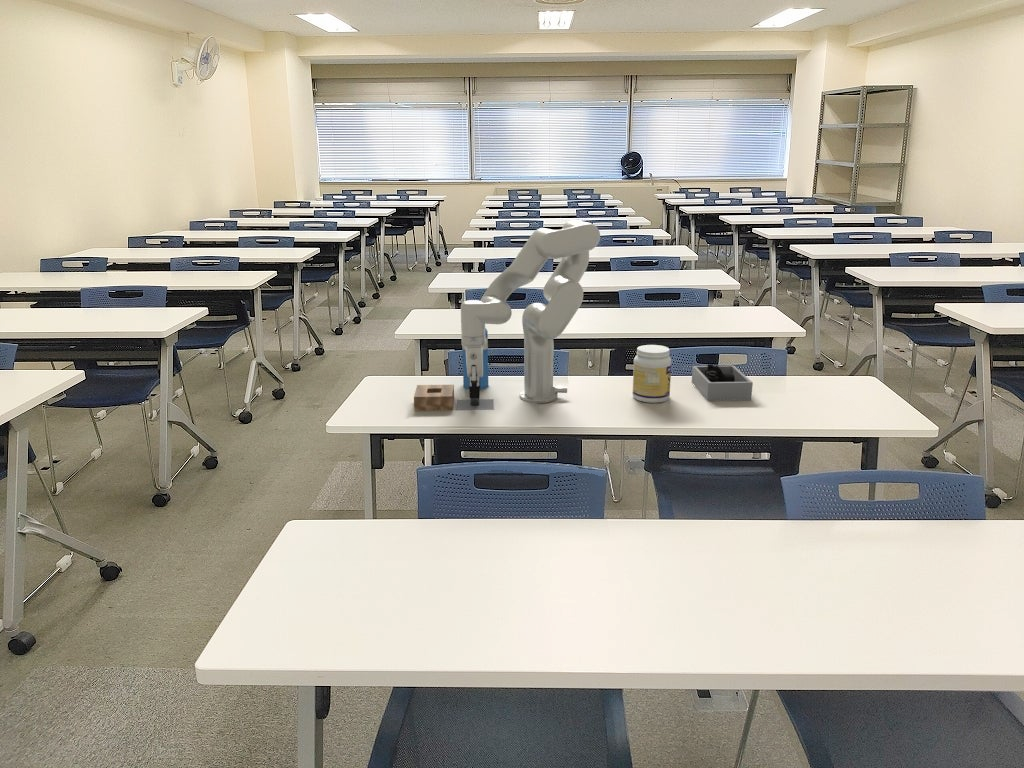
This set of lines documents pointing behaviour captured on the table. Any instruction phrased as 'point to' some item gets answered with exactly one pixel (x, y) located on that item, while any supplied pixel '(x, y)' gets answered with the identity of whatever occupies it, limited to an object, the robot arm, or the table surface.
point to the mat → (484, 405)
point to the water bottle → (485, 366)
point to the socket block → (434, 397)
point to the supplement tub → (652, 374)
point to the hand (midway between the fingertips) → (474, 394)
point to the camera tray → (722, 385)
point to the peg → (474, 399)
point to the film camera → (718, 374)
